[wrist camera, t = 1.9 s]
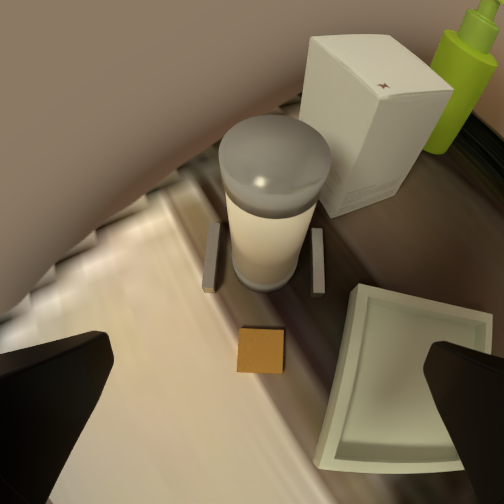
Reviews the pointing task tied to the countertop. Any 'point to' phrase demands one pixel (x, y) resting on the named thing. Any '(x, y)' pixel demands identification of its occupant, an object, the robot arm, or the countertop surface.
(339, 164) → the supplement box
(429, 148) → the soap dispenser
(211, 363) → the countertop surface
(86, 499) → the countertop surface
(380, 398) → the tray
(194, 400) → the countertop surface
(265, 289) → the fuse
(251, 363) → the blocks
